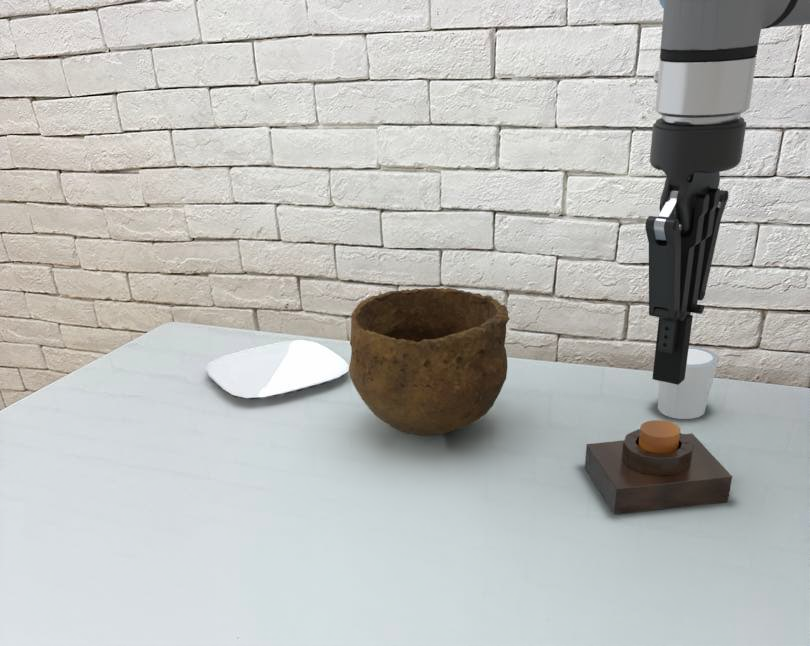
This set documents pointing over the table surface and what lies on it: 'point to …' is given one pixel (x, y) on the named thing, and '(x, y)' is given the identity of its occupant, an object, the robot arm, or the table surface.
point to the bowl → (429, 357)
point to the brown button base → (656, 475)
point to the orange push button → (659, 436)
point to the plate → (276, 369)
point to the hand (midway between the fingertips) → (668, 379)
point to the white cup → (689, 387)
